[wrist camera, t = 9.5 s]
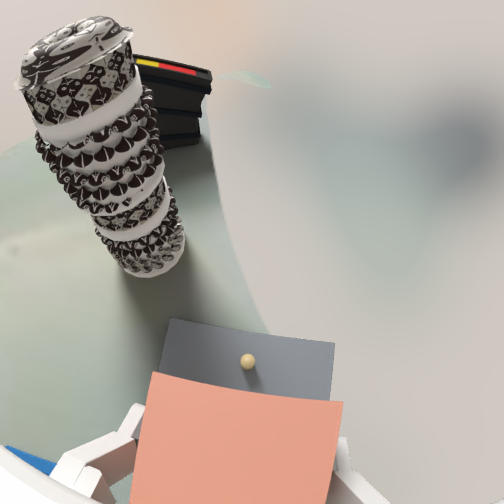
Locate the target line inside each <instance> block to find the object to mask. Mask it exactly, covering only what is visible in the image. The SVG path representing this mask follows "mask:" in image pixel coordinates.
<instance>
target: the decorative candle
mask: <svg viewBox="0 0 504 504" xmlns="http://www.w3.org/2000/svg"><path fill="white" fill-rule="evenodd" d="M132 35H133V30H132V28H129V27H125V26H120V25H119V24H118V23H116V22H115V21H114V20H113V19H111V18H109V17H104V16H97V17H91V18H87V19H83V20H80V21H77V22H74V23H72V24H69V25H67V26H64V27H63V28H60V29H58V30H56V31H55V32H52V33H51V34H49V35H48V36H46V37H44V38H43V39H41V40H40V41H38V42H37V43H36V44H35V45H34V46H32V47H31V48H30V49H29V51H28V52H27V54H26V55H25V57H24V59H23V62H22V67H21V73H20V74H19V75H18V77H17V79H16V81H15V82H14V84H13V85H14V87H15V90H21V91H22V93H23V95H24V97H25V99H26V102H27V104H28V106H29V108H30V110H31V112H32V114H33V115H32V120H33V122H34V124H35V126H36V128H37V131H36V134H35V137H34V138H36V140H37V141H38V142H37V144H36V150H37V152H38V153H41V154H42V153H43V154H42V159H43V160H44V161H45V162H47V163H50V164H49V168H50V170H51V171H52V172H53V173H57V180H58V182H59V183H60V184H64V191H65V192H66V193H68V194H69V196H70V198H71V199H72V200H74V201H76V203H77V206H78V207H79V208H80V209H81V210H82V211H84V212H87V213H89V217H90V218H91V220H92V221H93V223H94V225H95V226H96V227H97V228H96V229H95V232H96V234H97V235H98V236H99V237H102V238H101V240H102V242H103V243H104V244H105V245H107V249H108V251H109V252H110V253H111V254H112V255H113V258H114V259H115V260H116V261H118V262H119V265H120V266H121V267H122V268H123V269H124V270H125V272H127V273H129V274H131V275H133V276H135V277H141V278H152V277H155V276H158V275H161V274H164V273H166V272H167V271H168V270H169V269H171V268H172V267H173V266H174V265H176V264H177V262H178V260H179V259H180V257H181V255H182V254H183V252H184V246H185V235H184V232H183V226H182V225H180V224H179V223H180V222H181V218H180V217H179V216H175V215H176V214H177V213H178V208H177V207H176V206H175V205H174V204H175V202H176V201H175V198H174V196H172V195H171V193H172V189H171V188H170V187H168V186H167V184H166V180H165V177H164V176H163V171H164V167H165V164H164V160H163V157H162V153H163V152H164V148H163V146H162V145H160V139H159V136H160V131H159V129H157V128H155V125H156V119H155V118H156V117H157V115H158V112H157V110H156V109H154V107H153V104H154V100H153V97H154V93H153V91H152V90H150V89H148V87H147V86H145V85H141V80H140V76H139V71H138V67H137V66H136V65H135V64H134V59H133V55H132V50H131V45H130V40H129V38H130V37H131V36H132ZM140 97H141V98H142V100H140ZM148 113H149V116H147V115H148ZM146 114H147V115H146ZM145 115H146V119H145ZM150 133H152V136H151V135H150ZM43 141H46V142H49V144H47V145H46V144H45V143H44V142H43ZM48 145H50V149H49V148H48V149H46V148H45V147H46V146H48Z"/></svg>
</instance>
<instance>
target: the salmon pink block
mask: <svg viewBox="0 0 504 504" xmlns="http://www.w3.org/2000/svg"><path fill="white" fill-rule="evenodd" d="M342 408H343V402H339V401H325V400H312V399H302V398H292V397H283V396H275V395H268V394H261V393H254V392H248V391H242V390H236V389H230V388H225V387H219V386H214V385H209V384H204V383H200V382H195V381H191V380H186V379H182V378H178V377H174V376H170V375H166V374H162V373H158V372H154V371H153V372H152V377H151V381H150V386H149V390H148V395H147V400H146V405H145V410H144V415H143V420H142V425H141V431H140V436H139V442H138V448H137V454H136V460H135V466H134V473H133V479H132V486H131V494H130V501H129V504H325V502H326V498H327V494H328V489H329V484H330V480H331V475H332V470H333V465H334V459H335V454H336V448H337V442H338V436H339V429H340V422H341V416H342Z"/></svg>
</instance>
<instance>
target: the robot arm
mask: <svg viewBox="0 0 504 504" xmlns="http://www.w3.org/2000/svg"><path fill="white" fill-rule="evenodd" d="M144 410H145V406H144V405H141V404H138V403H135V404H134V405H132V407H131V409H130V411H129V412H128V414H127V416H126V418H125V419H124V421H123V423H122V425H121V426H120V428H119V430H118V432H114V431H113V432H111V433H109V434H106V435H104V436H102V437H100V438H98V439H95V440H93V441H91V442H89V443H86V444H84V445H82V446H79V447H77V448H75V449H72V450H70V451H67V452H65V453H64V454H63V456H62V457H61V459H60V460H59V462H58V463H57V465H56V466H55V468H54V469H53V471H52V472H51V474H50V476H47V475H46V474H44V473H42V472H41V471H39V470H38V469H36V468H34V467H33V466H31V465H30V464H28V463H27V462H25V461H24V460H22V459H21V458H19V457H18V456H16V455H15V454H13V453H12V452H11V451H9V450H8V449H6V448H5V447H4V446H2V445H1V444H0V504H115V502H116V500H115V498H114V497H113V495H112V493H111V491H110V489H109V487H110V486H112V485H113V484H115V483H116V482H118V481H120V480H121V479H123V478H124V477H126V476H127V475H129V474H130V473H132V472H133V471H134V466H135V460H136V454H137V448H138V442H139V436H140V431H141V425H142V420H143V415H144ZM325 504H390V503H389V502H388V501H387V500H386V499H385V498H384V497H383V496H381V494H380V493H378V492H377V491H376V490H375V489H374V488H373V487H372V486H371V485H370V484H369V483H368V482H367V481H366V480H365V479H364V478H363V477H362V476H361V475H360V474H359V473H358V472H357V471H352V466H351V460H350V454H349V449H348V443H347V439H346V438H345V437H338V442H337V448H336V454H335V459H334V465H333V470H332V475H331V480H330V484H329V489H328V494H327V498H326V502H325ZM492 504H504V498H503V499H501V500H498V501H496V502H494V503H492Z"/></svg>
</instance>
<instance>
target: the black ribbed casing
mask: <svg viewBox="0 0 504 504" xmlns="http://www.w3.org/2000/svg"><path fill="white" fill-rule="evenodd" d="M132 55H133V59H134V64H135V65H136V66H137V67H138V71H139V76H140V80H141V85H145V86H147V87H148V89H150V90H152V91H153V93H154V97H153V100H154V104H153V107H154V109H156V110H157V112H158V115H157V117H156V118H155V119H156V125H155V128H157V129H159V131H160V136H159V139H160V145H162V146H163V148H164V149H169V148H174V147H180V146H186V145H193V144H198V142H199V139H198V138H199V137H201V135H200V127H199V119H198V117H199V118H201V117H202V111H201V102H202V100H203V98H204V96H205V94H208V95H210V93H211V90H212V89H211V85H210V84H211V82H212V75H211V71H209V70H206V69H203V68H198V67H195V66H191V65H186V64H182V63H178V62H174V61H169V60H164V59H159V58H154V57H149V56H143V55H137V54H132ZM140 100H142V98H141V97H140ZM146 115H147V114H146ZM146 115H145V119H146ZM147 116H149V113H148V115H147ZM150 135H151V136H152V133H150Z"/></svg>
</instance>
